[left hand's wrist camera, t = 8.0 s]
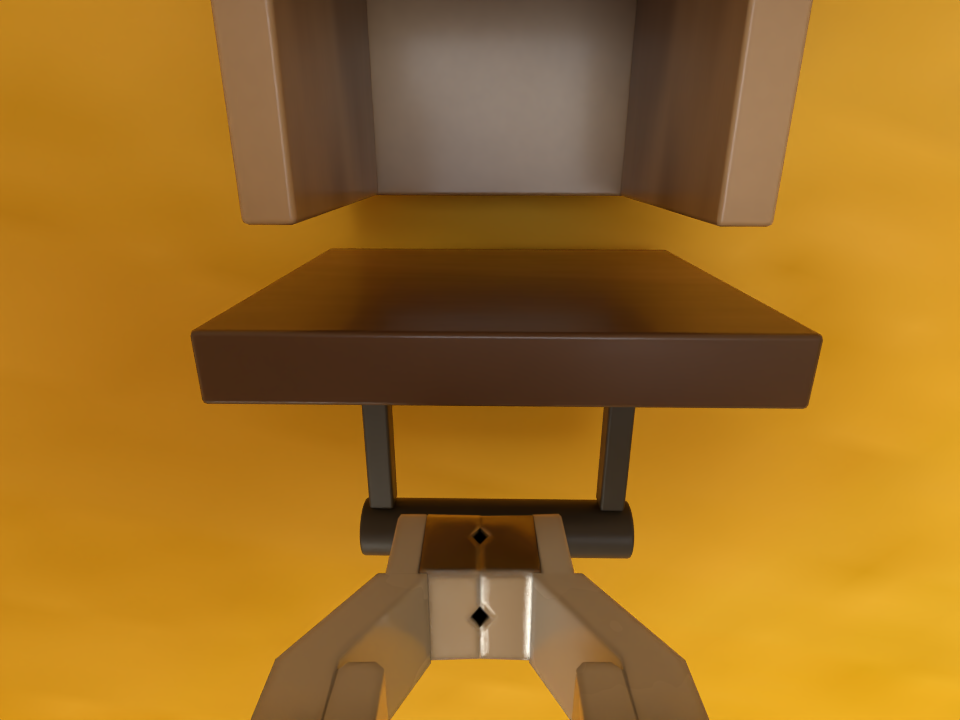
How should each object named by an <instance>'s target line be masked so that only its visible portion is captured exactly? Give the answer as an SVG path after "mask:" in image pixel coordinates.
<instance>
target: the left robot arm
mask: <svg viewBox="0 0 960 720" xmlns="http://www.w3.org/2000/svg"><path fill="white" fill-rule="evenodd" d="M449 659H511V660H529V663H530V664H531V666H532V667H533V668H534V670H535V671H536V673H537V674H538V675H539V677H540V678H541V680H542V681H543V682H544V684H545V685H546V687H547V688H548V689H549V691H550V692H551V694H552V695H553V696H554V698H555V699H556V701H557V702H558V703H559V705H560V706H561V708H562V709H563V710H564V712H565V713H566V715H567V716H568V717H569V719H570V720H709V718H708V715H707V713H706V711H705V708H704V706H703V703H702V701H701V698H700V696H699V693H698V691H697V688H696V686H695V683H694V681H693V678H692V676H691V673H690V671H689V669H688V666H687V664H686V661H685V660H684V659H683V658H682V657H681V656H680V655H678V654H677V653H676V652H675V651H674V650H672V649H671V648H670V647H669V646H668V645H667V644H665V643H664V642H663V641H662V640H661V639H659V638H658V637H657V636H656V635H655V634H653V633H652V632H651V631H650V630H649V629H648V628H646V627H645V626H644V625H643V624H642V623H640V622H639V621H638V620H637V619H636V618H635V617H633V616H632V615H631V614H630V613H629V612H627V611H626V610H625V609H624V608H623V607H621V606H620V605H619V604H618V603H617V602H616V601H614V600H613V599H612V598H611V597H610V596H608V595H607V594H606V593H605V592H604V591H603V590H601V589H600V588H599V587H598V586H597V585H595V584H594V583H593V582H592V581H591V580H589V579H588V578H587V577H586V576H585V575H584V574H582V573H574V570H573V565H572V561H571V557H570V552H569V548H568V544H567V539H566V535H565V531H564V526H563V522H562V517H561V516H560V515H559V514H540V515H530V516H480V515H436V514H428V516H427V515H426V514H401V515H400V517H399V518H398V521H397V526H396V530H395V534H394V539H393V543H392V548H391V552H390V556H389V561H388V565H387V570H386V573H378V574H376V575H375V576H374V577H373V578H372V579H371V580H369V581H368V582H367V583H366V584H365V585H363V586H362V587H361V588H360V589H359V590H357V591H356V592H355V593H354V594H353V595H351V596H350V597H349V598H348V599H347V600H346V601H344V602H343V603H342V604H341V605H340V606H338V607H337V608H336V609H335V610H334V611H332V612H331V613H330V614H329V615H328V616H326V617H325V618H324V619H323V620H322V621H321V622H319V623H318V624H317V625H316V626H315V627H313V628H312V629H311V630H310V631H309V632H307V633H306V634H305V635H304V636H303V637H301V638H300V639H299V640H298V641H297V642H295V643H294V644H293V645H292V646H291V647H290V648H288V649H287V650H286V651H285V652H284V653H282V654H281V655H280V656H279V657H278V658H276V659H275V662H274V664H273V667H272V669H271V672H270V674H269V676H268V679H267V681H266V684H265V686H264V689H263V691H262V693H261V696H260V698H259V701H258V703H257V706H256V708H255V710H254V713H253V715H252V718H251V720H390V719H391V718H392V716H393V715H394V714H395V712H396V711H397V709H398V708H399V707H400V705H401V704H402V702H403V701H404V700H405V698H406V697H407V696H408V694H409V693H410V691H411V690H412V689H413V687H414V686H415V684H416V683H417V682H418V680H419V679H420V677H421V676H422V675H423V673H424V672H425V670H426V669H427V668H428V666H429V665H430V663H431V660H449Z"/></svg>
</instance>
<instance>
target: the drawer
mask: <svg viewBox="0 0 960 720" xmlns="http://www.w3.org/2000/svg"><path fill="white" fill-rule="evenodd" d="M812 1H813V0H211V5H212V12H213V19H214V26H215V33H216V40H217V47H218V54H219V61H220V68H221V75H222V82H223V89H224V96H225V103H226V110H227V117H228V124H229V131H230V138H231V145H232V152H233V159H234V166H235V173H236V180H237V187H238V194H239V202H240V209H241V216H242V220H243V222H244V223H247V224H249V225H293V224H296V223H298V222H301V221H304V220H307V219H310V218H312V217H315V216H318V215H321V214H324V213H326V212H329V211H332V210H335V209H338V208H340V207H343V206H346V205H349V204H352V203H355V202H357V201H360V200H363V199H366V198H369V197H371V196H374V195H542V196H625V197H628V198H631V199H634V200H637V201H641V202H644V203H647V204H650V205H653V206H657V207H660V208H663V209H666V210H669V211H673V212H676V213H679V214H682V215H685V216H688V217H692V218H695V219H698V220H701V221H704V222H708V223H711V224H714V225H717V226H750V227H767V226H769V225H772V223H773V219H774V214H775V208H776V202H777V197H778V191H779V186H780V180H781V174H782V169H783V163H784V158H785V152H786V146H787V141H788V135H789V130H790V124H791V118H792V113H793V107H794V102H795V96H796V91H797V85H798V79H799V74H800V68H801V63H802V57H803V51H804V46H805V40H806V35H807V29H808V23H809V18H810V12H811V7H812ZM191 341H192V346H193V352H194V357H195V362H196V368H197V373H198V378H199V384H200V389H201V394H202V400H203V401H204V403H207V404H319V405H362V414H363V426H364V439H365V452H366V464H367V477H368V490H369V498H367V499H366V501H365V503H364V506H363V509H362V514H361V522H360V545H361V550H362V553H363V554H364V555H390V552H391V548H392V543H393V539H394V534H395V530H396V526H397V521H398V518H399V517H400V515H401V514H426V515H427V516H428V514H436V515H480V516H530V515H540V514H559V515H560V516H561V517H562V522H563V526H564V531H565V535H566V539H567V544H568V548H569V552H570V557H571V558H630V557H631V555H632V552H633V547H634V525H633V517H632V513H631V509H630V506H629V504H628V502H627V501H625V497H626V488H627V478H628V469H629V460H630V450H631V441H632V432H633V422H634V413H635V407H672V408H790V409H804V408H806V407H807V406H808V404H809V399H810V395H811V390H812V386H813V381H814V377H815V373H816V368H817V364H818V359H819V355H820V350H821V346H822V341H823V339H822V336H821V335H820V334H818V333H817V332H815V331H813V330H811V329H809V328H807V327H806V326H804V325H802V324H800V323H798V322H796V321H795V320H793V319H791V318H789V317H787V316H785V315H784V314H782V313H780V312H778V311H776V310H774V309H773V308H771V307H769V306H767V305H765V304H763V303H762V302H760V301H758V300H756V299H754V298H752V297H751V296H749V295H747V294H745V293H743V292H741V291H740V290H738V289H736V288H734V287H732V286H730V285H729V284H727V283H725V282H723V281H721V280H719V279H718V278H716V277H714V276H712V275H710V274H708V273H707V272H705V271H703V270H701V269H699V268H697V267H696V266H694V265H692V264H690V263H688V262H686V261H685V260H683V259H681V258H679V257H677V256H675V255H674V254H672V253H670V252H668V251H666V250H538V249H329V250H328V251H326V252H324V253H323V254H321V255H319V256H318V257H316V258H314V259H312V260H311V261H309V262H307V263H306V264H304V265H302V266H301V267H299V268H297V269H296V270H294V271H292V272H291V273H289V274H287V275H285V276H284V277H282V278H280V279H279V280H277V281H275V282H274V283H272V284H270V285H269V286H267V287H265V288H264V289H262V290H260V291H259V292H257V293H255V294H253V295H252V296H250V297H248V298H247V299H245V300H243V301H242V302H240V303H238V304H237V305H235V306H233V307H232V308H230V309H228V310H226V311H225V312H223V313H221V314H220V315H218V316H216V317H215V318H213V319H211V320H210V321H208V322H206V323H205V324H203V325H201V326H199V327H198V328H196V329H194V330H193V331H192V332H191ZM392 405H437V406H554V407H604V412H603V424H602V436H601V447H600V459H599V470H598V482H597V494H596V498H597V500H558V499H467V498H396V497H397V485H396V468H395V451H394V434H393V416H392Z"/></svg>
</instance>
